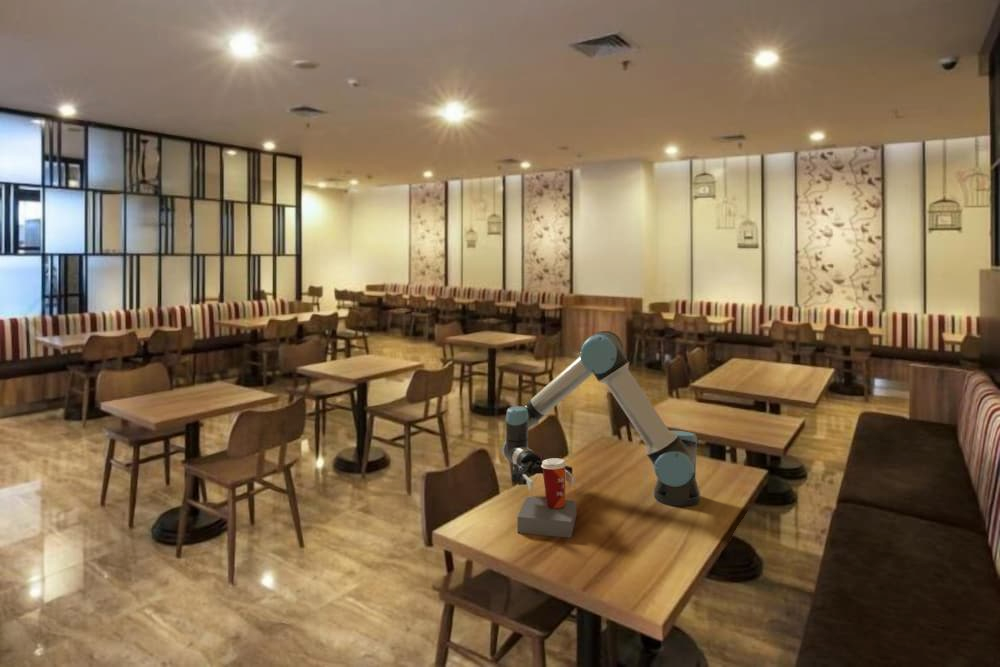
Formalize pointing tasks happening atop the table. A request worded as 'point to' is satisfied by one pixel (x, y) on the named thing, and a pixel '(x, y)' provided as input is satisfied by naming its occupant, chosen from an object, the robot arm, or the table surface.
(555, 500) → the paper cup
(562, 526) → the base block
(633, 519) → the table surface
